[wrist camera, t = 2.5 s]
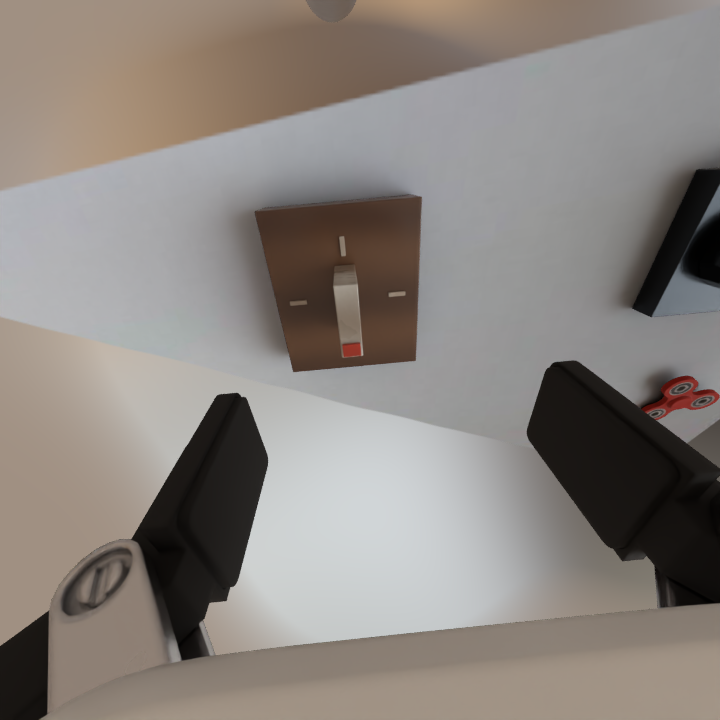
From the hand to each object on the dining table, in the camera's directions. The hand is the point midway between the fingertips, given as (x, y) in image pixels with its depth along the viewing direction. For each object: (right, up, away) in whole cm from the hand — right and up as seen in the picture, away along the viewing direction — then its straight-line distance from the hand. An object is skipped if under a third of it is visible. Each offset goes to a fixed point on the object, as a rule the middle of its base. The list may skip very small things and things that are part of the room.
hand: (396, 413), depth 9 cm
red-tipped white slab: (-2, +7, +15) cm, 17 cm away
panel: (-2, +9, +18) cm, 20 cm away
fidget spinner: (+38, -4, +26) cm, 46 cm away
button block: (+31, +13, +17) cm, 38 cm away
